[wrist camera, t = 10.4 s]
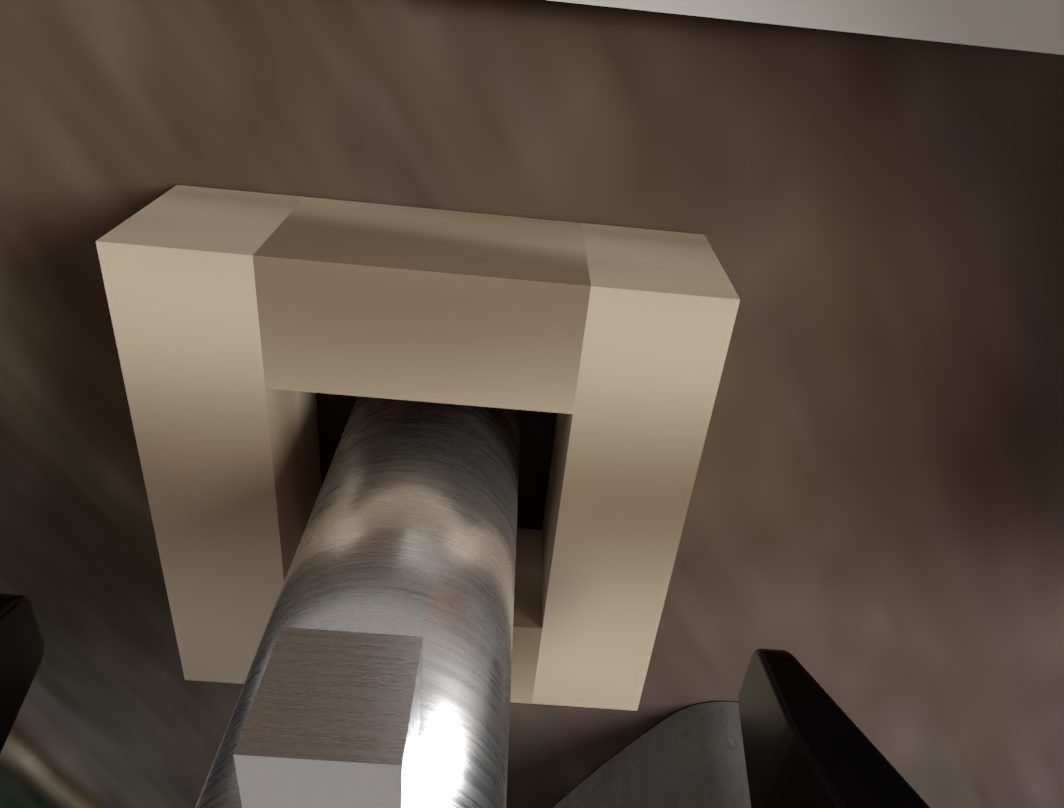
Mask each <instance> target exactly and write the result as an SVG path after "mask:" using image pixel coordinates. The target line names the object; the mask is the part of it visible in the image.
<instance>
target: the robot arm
mask: <svg viewBox="0 0 1064 808" xmlns="http://www.w3.org/2000/svg"><path fill="white" fill-rule="evenodd" d="M43 653H44V641H43V637H42V634H41V631H40V628H39V625H38V622H37V619H36V616H35V613H34V610H33V607H32V604H31V602H30V600H29V599H28V598H27V597H25V596H22V595H13V594H0V753H1V751H2V749H3V746H4V744H5V742H6V740H7V737H8V735H9V733H10V731H11V728H12V726H13V724H14V722H15V719H16V717H17V715H18V713H19V710H20V708H21V706H22V704H23V701H24V699H25V697H26V695H27V692H28V690H29V688H30V686H31V683H32V681H33V679H34V677H35V674H36V672H37V670H38V668H39V665H40V663H41V660H42V657H43ZM739 715H740V722H741V730H742V738H743V746H744V754H745V762H746V770H747V778H748V786H749V794H750V802H751V808H930V807H929V806H928V805H927V804H926V803H925V802H924V800H923V799H922V798H921V797H920V796H919V795H918V794H917V793H916V792H915V790H914V789H913V788H912V787H911V786H910V785H909V784H908V783H907V782H906V780H905V779H904V778H903V777H902V776H901V775H900V774H899V773H898V772H897V770H896V769H895V768H894V767H893V766H892V765H891V764H890V763H889V762H888V760H887V759H886V758H885V757H884V756H883V755H882V754H881V753H880V752H879V750H878V749H877V748H876V747H875V746H874V745H873V744H872V743H871V742H870V740H869V739H868V738H867V737H866V736H865V735H864V734H863V733H862V732H861V730H860V729H859V728H858V727H857V726H856V725H855V724H854V723H853V722H852V720H851V719H850V718H849V717H848V716H847V715H846V714H845V713H844V712H843V710H842V709H841V708H840V707H839V706H838V705H837V704H836V703H835V702H834V701H833V699H832V698H831V697H830V696H829V695H828V694H827V693H826V692H825V691H824V689H823V688H822V687H821V686H820V685H819V684H818V683H817V682H816V681H815V679H814V678H813V677H812V676H811V675H810V674H809V673H808V672H807V671H806V669H805V668H804V667H803V666H802V665H801V664H800V663H799V662H798V661H797V659H796V658H795V657H794V656H793V655H792V654H790V653H789V652H787V651H784V650H772V649H757V650H756V651H755V652H754V653H753V655H752V657H751V660H750V663H749V666H748V669H747V672H746V675H745V677H744V680H743V683H742V686H741V689H740V693H739Z"/></svg>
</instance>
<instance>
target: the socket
mask: <svg viewBox="0 0 1064 808" xmlns="http://www.w3.org/2000/svg"><path fill="white" fill-rule="evenodd" d="M96 246H97V251H98V256H99V261H100V266H101V271H102V276H103V281H104V286H105V291H106V295H107V300H108V305H109V310H110V315H111V320H112V325H113V330H114V335H115V340H116V345H117V349H118V354H119V359H120V364H121V369H122V374H123V379H124V384H125V389H126V394H127V399H128V403H129V408H130V413H131V418H132V423H133V428H134V433H135V438H136V443H137V448H138V453H139V457H140V462H141V467H142V472H143V477H144V482H145V487H146V492H147V497H148V502H149V507H150V512H151V516H152V521H153V526H154V531H155V536H156V541H157V546H158V551H159V556H160V561H161V566H162V570H163V575H164V580H165V585H166V590H167V595H168V600H169V605H170V610H171V615H172V620H173V624H174V629H175V634H176V639H177V644H178V649H179V654H180V659H181V664H182V669H183V674H184V678H185V680H194V681H209V682H223V683H238V684H244V683H245V680H246V678H247V675H248V673H249V670H250V667H251V665H252V662H253V660H254V657H255V655H256V652H257V650H258V647H259V645H260V642H261V640H262V637H263V634H264V632H265V629H266V627H267V624H268V622H269V619H270V617H271V614H272V612H273V609H274V607H275V604H276V602H277V599H278V596H279V594H280V591H281V589H282V586H283V584H284V581H285V579H286V576H287V574H288V571H289V569H290V566H291V563H292V561H293V558H294V556H295V553H296V551H297V548H298V546H299V543H300V541H301V538H302V536H303V533H304V531H305V528H306V525H307V523H308V520H309V518H310V515H311V513H312V510H313V508H314V505H315V503H316V500H317V498H318V495H319V492H320V490H321V487H322V485H321V467H320V450H319V433H318V415H317V398H316V393H325V394H337V395H349V396H361V397H373V398H385V399H397V400H409V401H421V402H432V403H444V404H456V405H468V406H480V407H492V408H504V409H516V410H528V411H540V412H552V413H557V417H556V425H555V433H554V441H553V448H552V456H551V464H550V471H549V479H548V487H547V495H546V502H545V510H544V518H543V525H542V530H538V529H525V528H517V536H516V563H515V589H514V616H513V642H512V668H511V695H510V702H516V703H531V704H545V705H560V706H575V707H589V708H604V709H619V710H633V711H637V710H638V706H639V702H640V698H641V694H642V690H643V686H644V682H645V678H646V674H647V670H648V666H649V662H650V658H651V654H652V650H653V646H654V642H655V638H656V634H657V630H658V626H659V622H660V618H661V614H662V610H663V606H664V602H665V598H666V594H667V590H668V586H669V582H670V578H671V574H672V570H673V566H674V562H675V558H676V554H677V550H678V546H679V542H680V538H681V534H682V530H683V526H684V522H685V518H686V514H687V510H688V506H689V502H690V498H691V494H692V490H693V486H694V482H695V478H696V474H697V470H698V466H699V462H700V458H701V454H702V450H703V446H704V442H705V438H706V434H707V430H708V426H709V422H710V418H711V414H712V410H713V406H714V402H715V398H716V394H717V390H718V386H719V382H720V378H721V374H722V370H723V366H724V362H725V358H726V354H727V350H728V346H729V342H730V338H731V334H732V330H733V326H734V322H735V318H736V314H737V310H738V306H739V302H740V299H739V297H738V295H737V293H736V291H735V289H734V288H733V286H732V284H731V282H730V280H729V279H728V277H727V275H726V273H725V271H724V269H723V268H722V266H721V264H720V262H719V260H718V259H717V257H716V255H715V253H714V251H713V249H712V248H711V246H710V244H709V242H708V240H707V239H706V237H705V235H704V234H694V233H683V232H673V231H662V230H651V229H641V228H630V227H620V226H609V225H598V224H588V223H577V222H566V221H556V220H545V219H534V218H524V217H513V216H503V215H492V214H481V213H471V212H460V211H449V210H439V209H428V208H418V207H407V206H396V205H386V204H375V203H364V202H354V201H343V200H332V199H322V198H311V197H301V196H290V195H279V194H269V193H258V192H247V191H237V190H226V189H216V188H205V187H194V186H184V185H176V186H175V187H173V188H172V189H170V190H169V191H167V192H166V193H165V194H163V195H162V196H160V197H159V198H157V199H156V200H154V201H153V202H151V203H150V204H149V205H147V206H146V207H144V208H143V209H141V210H140V211H138V212H137V213H136V214H134V215H133V216H131V217H130V218H128V219H127V220H125V221H124V222H123V223H121V224H120V225H118V226H117V227H115V228H114V229H112V230H111V231H109V232H108V233H107V234H105V235H104V236H102V237H101V238H99V239H98V240H96Z"/></svg>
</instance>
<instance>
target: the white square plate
mask: <svg viewBox="0 0 1064 808" xmlns="http://www.w3.org/2000/svg"><path fill="white" fill-rule="evenodd" d="M548 1H558V2H567V3H577V4H586V5H595V6H605V7H614V8H624V9H633V10H643V11H652V12H662V13H671V14H681V15H690V16H700V17H709V18H718V19H728V20H737V21H747V22H756V23H766V24H775V25H785V26H794V27H804V28H813V29H823V30H832V31H841V32H851V33H860V34H870V35H879V36H889V37H898V38H908V39H917V40H927V41H936V42H945V43H955V44H964V45H974V46H983V47H993V48H1002V49H1012V50H1021V51H1031V52H1040V53H1050V54H1059V55H1064V0H548Z"/></svg>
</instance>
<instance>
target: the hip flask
mask: <svg viewBox="0 0 1064 808" xmlns="http://www.w3.org/2000/svg"><path fill="white" fill-rule="evenodd" d="M553 808H751V802H750V794H749V786H748V778H747V770H746V762H745V754H744V746H743V738H742V730H741V722H740V715H739V703H737V702H722V701H718V702H708V703H702V704H698V705H693V706H690V707H688V708H685V709H682V710H680V711H678V712H676V713H674V714H673V715H671V716H669V717H668V718H666V719H665V720H663V721H662V722H660V723H659V724H658V725H656V726H655V727H653V728H652V729H651V730H649V731H648V732H646V733H645V734H643V735H642V736H641V737H639V738H638V739H636V740H635V741H634V742H632V743H631V744H630V745H628V746H627V747H626V748H624V749H623V750H622V751H620V752H619V753H618V754H616V755H615V756H614V757H612V758H611V759H610V760H608V761H607V762H606V763H604V764H603V765H602V766H601V767H600V768H598V769H597V770H596V771H595V772H594V773H592V774H591V775H590V776H589V777H588V778H586V779H585V780H584V781H583V782H581V783H580V784H579V785H578V786H577V787H576V788H574V789H573V790H572V791H571V792H570V793H569V794H568V795H566V796H565V797H564V798H563V799H562V800H561V801H560V802H559V803H557V804H556V805H555V806H554V807H553Z"/></svg>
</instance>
